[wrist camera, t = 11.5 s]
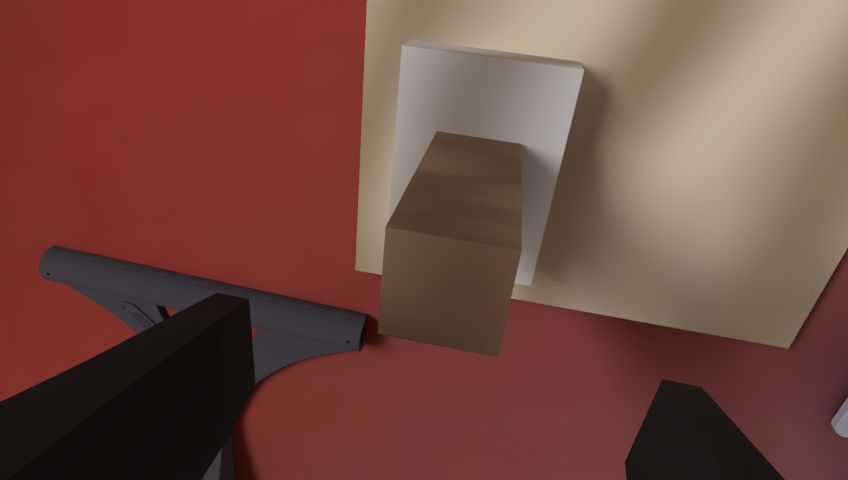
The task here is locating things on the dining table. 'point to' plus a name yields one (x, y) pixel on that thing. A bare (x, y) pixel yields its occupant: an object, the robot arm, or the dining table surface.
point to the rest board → (659, 152)
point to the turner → (470, 188)
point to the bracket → (153, 288)
